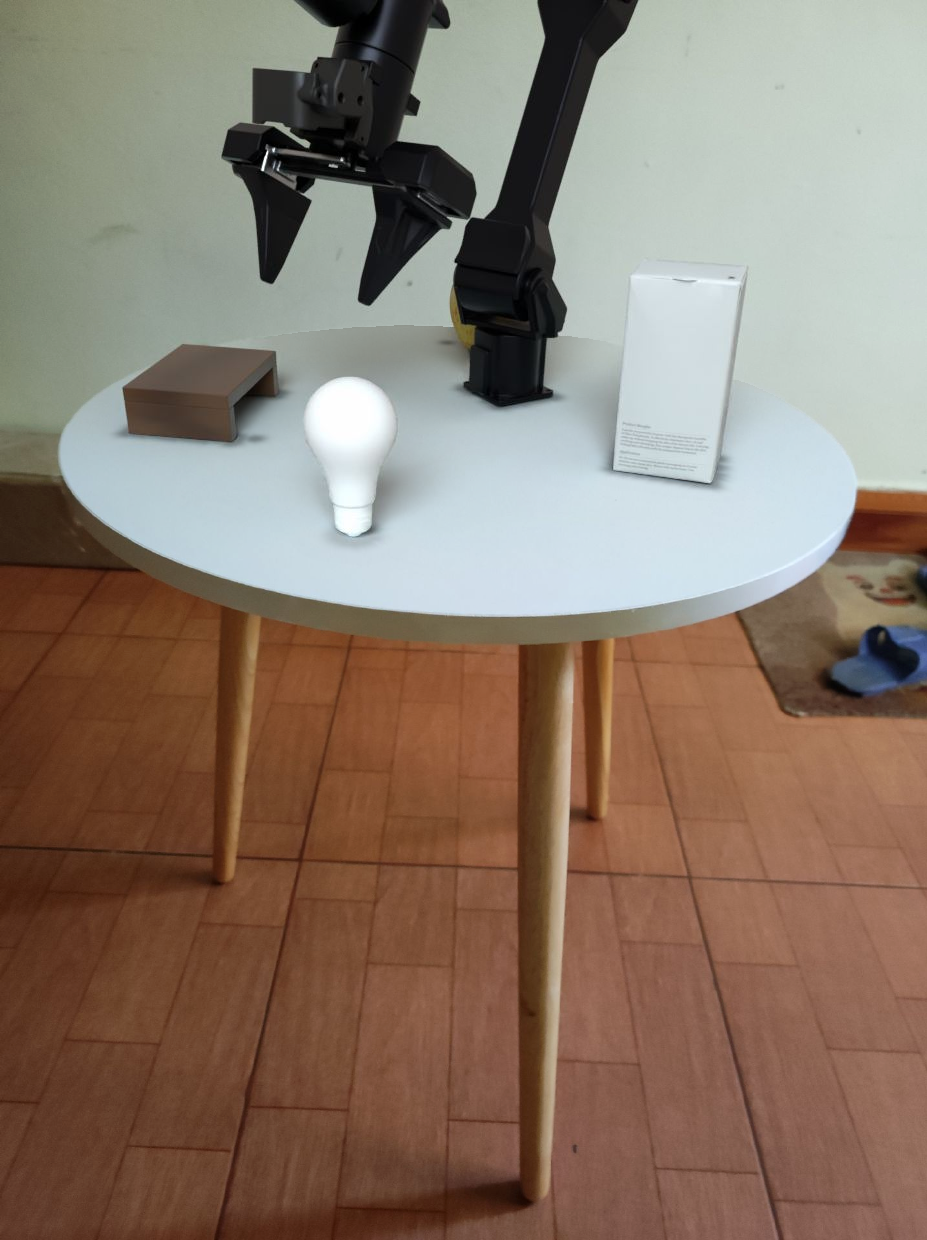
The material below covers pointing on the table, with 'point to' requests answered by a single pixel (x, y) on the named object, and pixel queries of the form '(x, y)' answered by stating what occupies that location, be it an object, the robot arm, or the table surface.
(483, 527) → the table surface
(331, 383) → the lightbulb
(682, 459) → the cosmetic box
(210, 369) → the shelf
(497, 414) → the table surface
